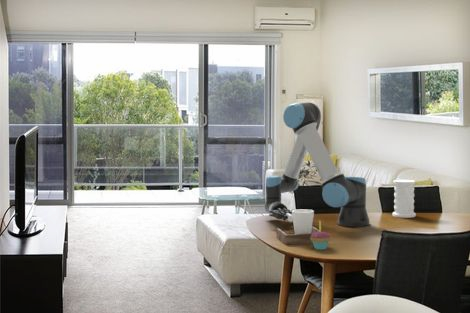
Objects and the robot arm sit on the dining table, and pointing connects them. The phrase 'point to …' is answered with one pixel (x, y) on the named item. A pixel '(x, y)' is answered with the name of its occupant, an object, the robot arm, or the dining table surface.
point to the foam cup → (302, 221)
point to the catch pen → (295, 237)
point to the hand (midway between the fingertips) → (291, 218)
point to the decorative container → (404, 198)
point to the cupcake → (320, 239)
